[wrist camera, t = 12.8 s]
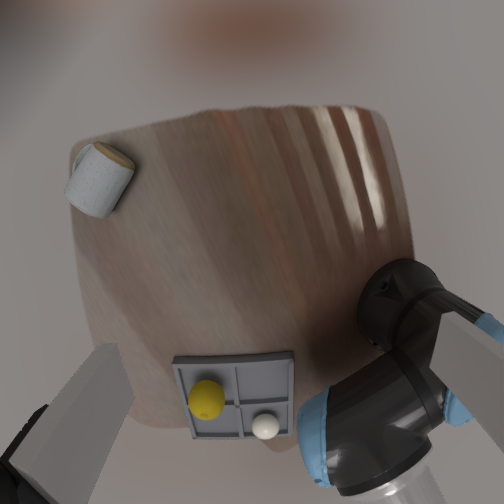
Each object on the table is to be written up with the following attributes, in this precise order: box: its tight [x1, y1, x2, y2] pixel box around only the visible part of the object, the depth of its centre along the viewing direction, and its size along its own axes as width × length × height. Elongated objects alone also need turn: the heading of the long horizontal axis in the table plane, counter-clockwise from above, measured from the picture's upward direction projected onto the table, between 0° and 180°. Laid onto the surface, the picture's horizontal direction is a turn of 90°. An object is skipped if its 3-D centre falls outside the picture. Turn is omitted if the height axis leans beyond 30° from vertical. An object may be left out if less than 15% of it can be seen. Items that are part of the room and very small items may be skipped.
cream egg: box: [251, 414, 280, 439], centre depth 41 cm, size 5×5×5 cm
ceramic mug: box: [64, 142, 135, 219], centre depth 32 cm, size 11×8×8 cm
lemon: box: [188, 380, 225, 420], centre depth 38 cm, size 6×6×8 cm
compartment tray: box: [172, 351, 294, 440], centre depth 42 cm, size 18×18×2 cm
